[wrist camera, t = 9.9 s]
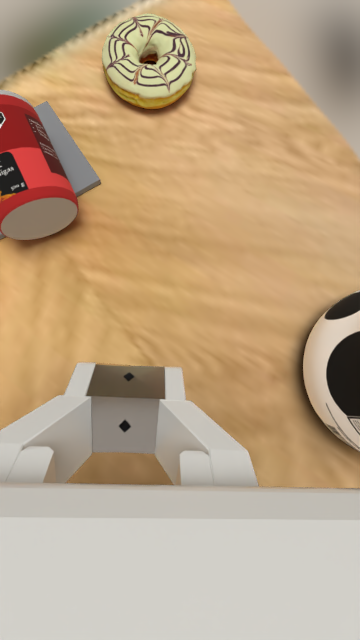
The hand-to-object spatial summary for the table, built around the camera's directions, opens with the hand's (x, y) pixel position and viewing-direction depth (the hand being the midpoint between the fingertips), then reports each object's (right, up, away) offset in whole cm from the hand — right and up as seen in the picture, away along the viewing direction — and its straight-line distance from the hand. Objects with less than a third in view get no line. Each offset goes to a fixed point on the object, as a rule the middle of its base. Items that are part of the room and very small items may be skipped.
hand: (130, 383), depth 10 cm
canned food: (-12, +11, +22) cm, 27 cm away
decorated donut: (-2, +31, +31) cm, 44 cm away
